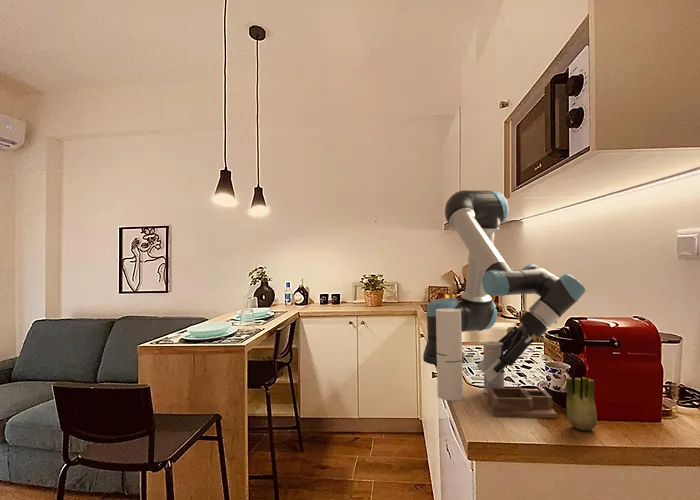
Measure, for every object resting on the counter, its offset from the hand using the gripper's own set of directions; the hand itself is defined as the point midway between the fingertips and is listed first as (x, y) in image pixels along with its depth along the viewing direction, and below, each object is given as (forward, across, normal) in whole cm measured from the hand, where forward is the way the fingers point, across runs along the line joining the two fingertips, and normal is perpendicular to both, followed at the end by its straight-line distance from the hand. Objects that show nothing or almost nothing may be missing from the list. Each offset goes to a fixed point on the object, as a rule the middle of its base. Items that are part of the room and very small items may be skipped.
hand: (482, 373), depth 133 cm
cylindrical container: (+11, -3, +3) cm, 12 cm away
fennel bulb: (-9, -25, -17) cm, 31 cm away
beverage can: (+2, 0, -6) cm, 7 cm away
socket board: (-1, -12, -9) cm, 15 cm away
